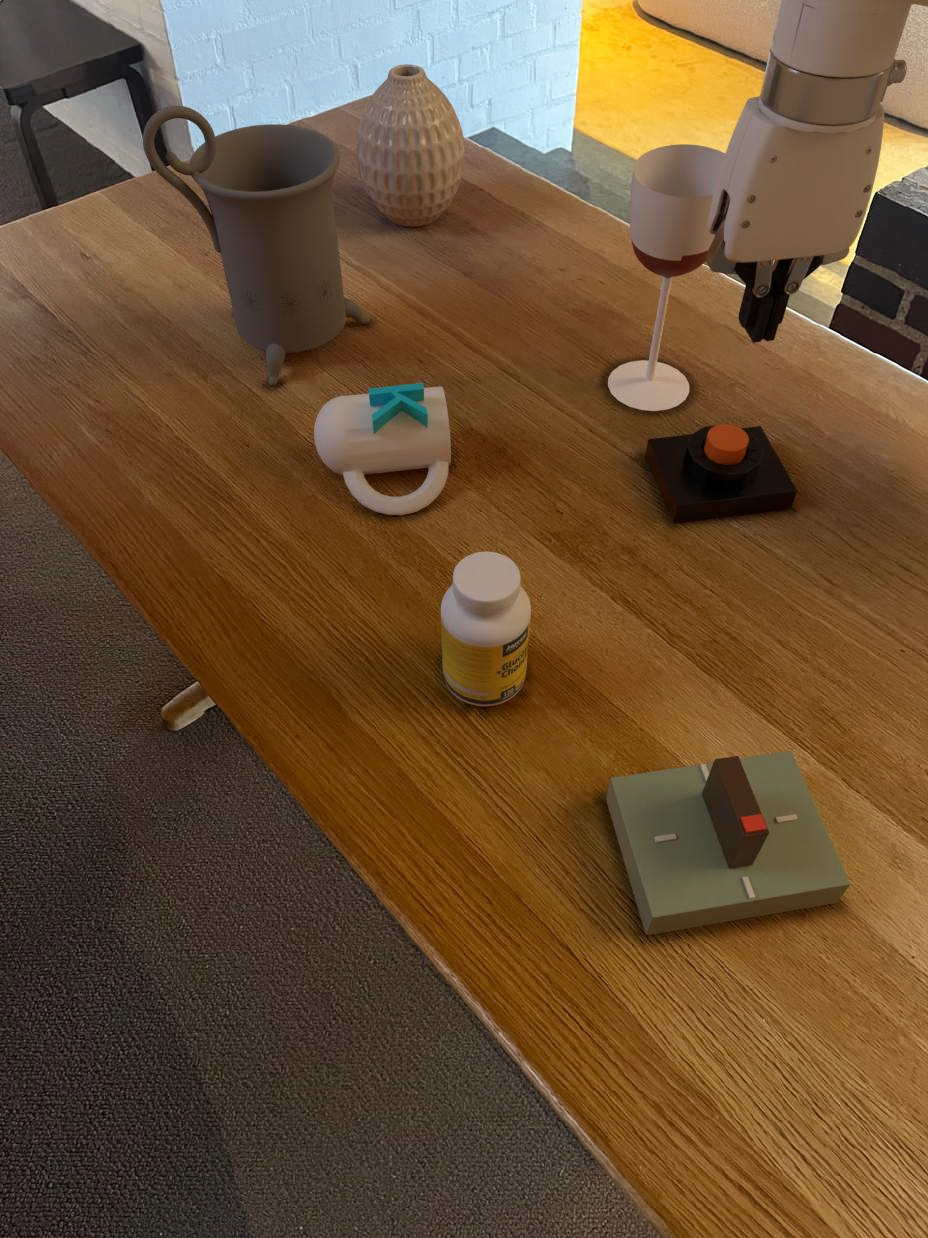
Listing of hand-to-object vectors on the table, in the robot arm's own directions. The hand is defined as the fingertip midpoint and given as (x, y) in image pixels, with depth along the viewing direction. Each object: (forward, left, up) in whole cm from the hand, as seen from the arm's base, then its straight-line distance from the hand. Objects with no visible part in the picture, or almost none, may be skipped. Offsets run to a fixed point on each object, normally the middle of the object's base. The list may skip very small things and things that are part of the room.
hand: (756, 331), depth 76 cm
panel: (+12, +35, -16) cm, 40 cm away
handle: (+12, +35, -13) cm, 39 cm away
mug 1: (+38, -29, -16) cm, 51 cm away
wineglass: (+2, -15, -16) cm, 22 cm away
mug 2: (+30, -6, -16) cm, 35 cm away
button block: (0, 0, -16) cm, 16 cm away
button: (0, 0, -12) cm, 12 cm away
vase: (+21, -53, -16) cm, 59 cm away
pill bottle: (+25, +18, -16) cm, 35 cm away
